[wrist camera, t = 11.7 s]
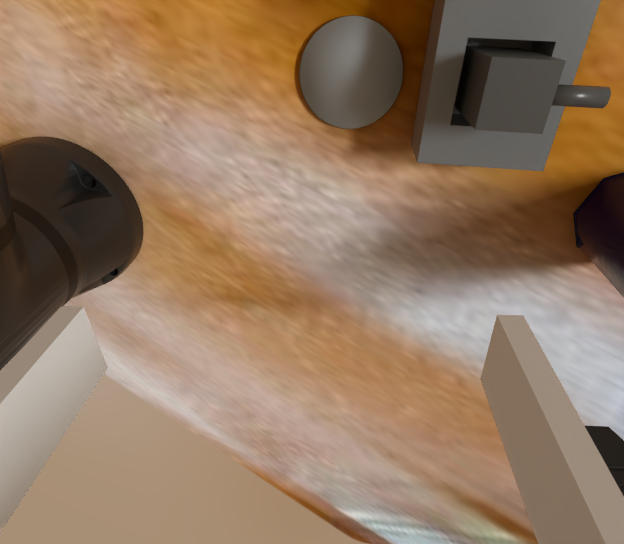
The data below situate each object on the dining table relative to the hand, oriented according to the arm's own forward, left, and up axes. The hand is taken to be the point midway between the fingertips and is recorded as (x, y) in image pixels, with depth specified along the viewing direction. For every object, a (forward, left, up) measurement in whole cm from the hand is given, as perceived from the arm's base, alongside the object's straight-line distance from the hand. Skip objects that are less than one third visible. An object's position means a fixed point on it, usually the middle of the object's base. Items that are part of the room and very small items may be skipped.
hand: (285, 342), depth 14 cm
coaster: (+1, +5, -26) cm, 27 cm away
